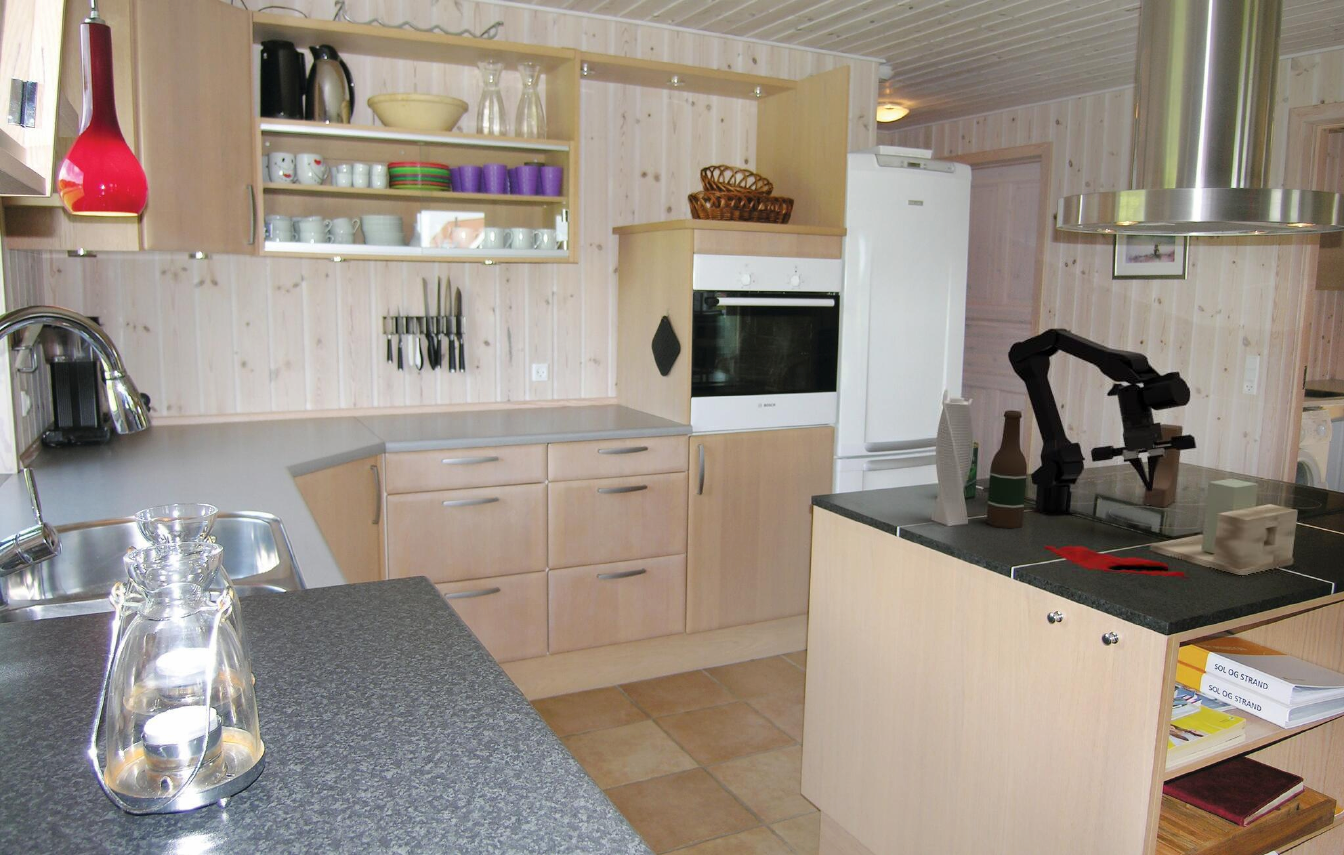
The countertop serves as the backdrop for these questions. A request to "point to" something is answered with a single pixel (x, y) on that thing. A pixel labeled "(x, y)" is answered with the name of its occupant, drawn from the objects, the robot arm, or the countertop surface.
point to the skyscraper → (953, 460)
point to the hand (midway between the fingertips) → (1150, 491)
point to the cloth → (1109, 561)
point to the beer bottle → (1008, 477)
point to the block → (1226, 505)
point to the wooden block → (1165, 472)
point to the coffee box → (972, 475)
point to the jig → (1241, 541)
